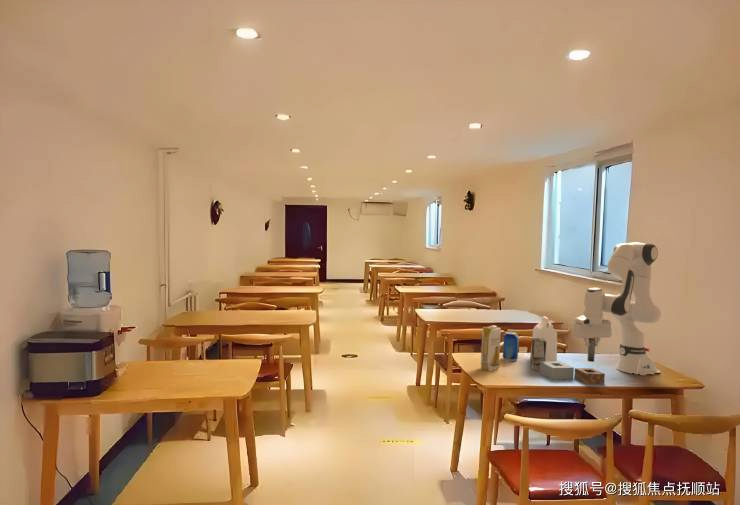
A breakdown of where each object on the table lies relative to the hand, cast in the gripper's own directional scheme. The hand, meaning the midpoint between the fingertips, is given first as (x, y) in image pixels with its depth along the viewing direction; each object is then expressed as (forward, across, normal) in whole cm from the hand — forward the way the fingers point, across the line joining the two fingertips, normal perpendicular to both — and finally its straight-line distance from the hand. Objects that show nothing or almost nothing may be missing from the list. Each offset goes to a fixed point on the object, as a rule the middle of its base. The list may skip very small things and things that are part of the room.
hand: (591, 346), depth 240 cm
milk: (+18, +5, -36) cm, 40 cm away
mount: (+18, +1, 0) cm, 18 cm away
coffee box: (+18, +17, -22) cm, 33 cm away
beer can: (+18, +24, -40) cm, 50 cm away
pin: (+8, 0, 0) cm, 8 cm away
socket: (+18, +14, -9) cm, 24 cm away
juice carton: (+17, +45, -23) cm, 53 cm away
